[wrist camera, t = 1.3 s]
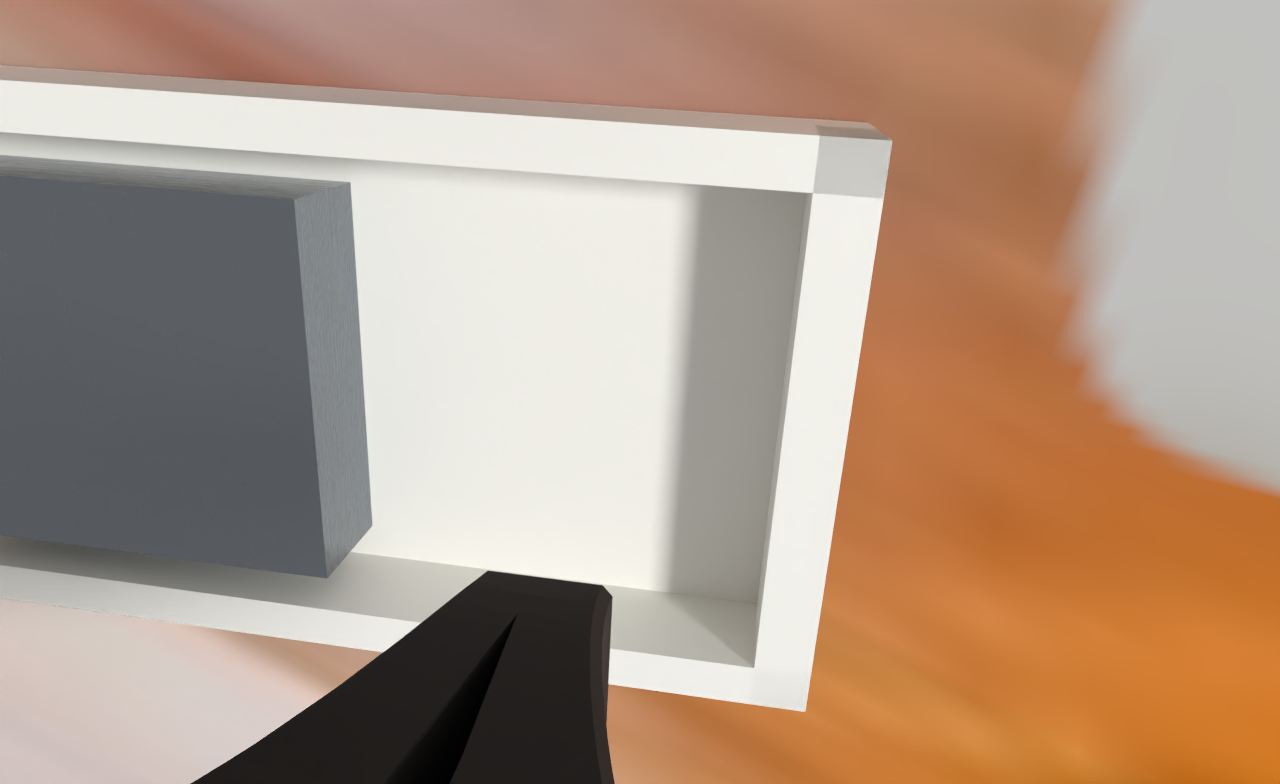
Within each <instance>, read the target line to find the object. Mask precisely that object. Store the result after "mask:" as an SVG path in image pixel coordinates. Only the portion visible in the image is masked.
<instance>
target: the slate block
mask: <svg viewBox="0 0 1280 784" xmlns="http://www.w3.org/2000/svg"><path fill="white" fill-rule="evenodd" d="M371 527H372V510H371V494H370V479H369V463H368V448H367V432H366V416H365V401H364V385H363V370H362V354H361V338H360V323H359V307H358V292H357V276H356V261H355V245H354V229H353V214H352V198H351V183H350V182H340V181H328V180H315V179H302V178H289V177H277V176H264V175H251V174H239V173H226V172H213V171H200V170H188V169H175V168H162V167H150V166H137V165H124V164H111V163H99V162H86V161H73V160H61V159H48V158H35V157H22V156H10V155H0V535H2V536H9V537H17V538H24V539H32V540H39V541H47V542H54V543H62V544H69V545H77V546H85V547H92V548H100V549H107V550H115V551H122V552H130V553H137V554H145V555H153V556H160V557H168V558H175V559H183V560H190V561H198V562H205V563H213V564H221V565H228V566H236V567H243V568H251V569H258V570H266V571H273V572H281V573H288V574H296V575H304V576H311V577H319V578H326V579H327V578H328V577H329V576H330V575H331V574H332V572H333V571H334V570H335V569H336V568H337V567H338V565H339V564H340V563H341V562H342V561H343V560H344V558H345V557H346V556H347V555H348V554H349V553H350V551H351V550H352V549H353V548H354V547H355V546H356V544H357V543H358V542H359V541H360V540H361V539H362V537H363V536H364V535H365V534H366V533H367V532H368V530H369V529H370V528H371Z"/></svg>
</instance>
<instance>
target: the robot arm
mask: <svg viewBox="0 0 1280 784" xmlns="http://www.w3.org/2000/svg"><path fill="white" fill-rule="evenodd" d="M612 600H613V596H612V595H611V594H610V593H609V592H608V591H607V590H606V588H605V587H604V586H603V585H597V584H589V583H581V582H574V581H566V580H558V579H550V578H543V577H535V576H527V575H519V574H512V573H504V572H496V571H487V572H485V573H484V574H483V575H481V576H480V577H479V578H478V579H476V580H475V581H474V582H472V583H471V584H470V585H468V586H467V587H466V588H464V589H463V590H462V591H460V592H459V593H458V594H457V595H455V596H454V597H453V598H452V599H450V600H449V601H448V602H447V603H445V604H444V605H443V606H442V607H440V608H439V609H438V610H437V611H435V612H434V613H433V614H432V615H430V616H429V617H428V618H427V619H425V620H424V621H423V622H422V623H420V624H419V625H418V626H416V627H415V628H414V629H413V630H411V631H410V632H409V633H408V634H406V635H405V636H404V637H403V638H401V639H400V640H399V641H397V642H396V643H395V644H394V645H392V646H391V647H390V648H388V649H387V650H386V651H384V652H383V653H382V654H380V655H379V656H378V657H376V658H375V659H374V660H373V661H371V662H370V663H369V664H367V665H366V666H365V667H363V668H362V669H361V670H359V671H358V672H357V673H355V674H354V675H353V676H351V677H350V678H349V679H347V680H346V681H345V682H343V683H342V684H341V685H339V686H338V687H337V688H335V689H334V690H333V691H331V692H330V693H328V694H327V695H325V696H324V697H322V698H321V699H319V700H318V701H317V702H315V703H314V704H312V705H311V706H309V707H308V708H306V709H305V710H304V711H302V712H301V713H299V714H298V715H296V716H295V717H293V718H292V719H290V720H289V721H288V722H286V723H285V724H283V725H282V726H280V727H279V728H277V729H276V730H275V731H273V732H272V733H270V734H269V735H267V736H266V737H264V738H263V739H261V740H260V741H259V742H257V743H256V744H254V745H252V746H251V747H249V748H248V749H246V750H245V751H243V752H241V753H240V754H238V755H237V756H235V757H234V758H232V759H230V760H229V761H227V762H226V763H224V764H222V765H221V766H219V767H217V768H216V769H214V770H212V771H211V772H209V773H208V774H206V775H204V776H203V777H201V778H199V779H198V780H196V781H194V782H193V783H191V784H614V778H613V773H612V766H611V759H610V753H609V746H608V738H607V728H606V719H607V699H608V679H609V659H610V639H611V619H612Z"/></svg>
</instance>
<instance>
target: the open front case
mask: <svg viewBox="0 0 1280 784" xmlns="http://www.w3.org/2000/svg"><path fill="white" fill-rule="evenodd" d="M891 147H892V140H891V139H889V138H888V137H887V136H885V135H884V134H883V133H881V132H880V131H879V130H877V129H876V128H875V127H874V126H872V125H871V124H870V123H867V122H852V121H837V120H821V119H806V118H791V117H776V116H761V115H746V114H731V113H715V112H700V111H685V110H670V109H655V108H640V107H624V106H609V105H594V104H579V103H564V102H549V101H534V100H518V99H503V98H488V97H473V96H458V95H443V94H428V93H412V92H397V91H382V90H367V89H352V88H337V87H322V86H306V85H291V84H276V83H261V82H246V81H231V80H216V79H200V78H185V77H170V76H155V75H140V74H125V73H110V72H94V71H79V70H64V69H49V68H34V67H19V66H4V65H0V155H10V156H22V157H35V158H48V159H61V160H73V161H86V162H99V163H111V164H124V165H137V166H150V167H162V168H175V169H188V170H200V171H213V172H226V173H239V174H251V175H264V176H277V177H289V178H302V179H315V180H328V181H340V182H350V183H351V198H352V214H353V229H354V245H355V261H356V276H357V292H358V307H359V323H360V338H361V354H362V370H363V385H364V401H365V416H366V432H367V448H368V463H369V479H370V494H371V510H372V527H371V528H370V529H369V530H368V532H367V533H366V534H365V535H364V536H363V537H362V539H361V540H360V541H359V542H358V543H357V544H356V546H355V547H354V548H353V549H352V550H351V551H350V553H349V554H348V555H347V556H346V557H345V558H344V560H343V561H342V562H341V563H340V564H339V565H338V567H337V568H336V569H335V570H334V571H333V572H332V574H331V575H330V576H329V577H328V578H327V579H326V578H319V577H311V576H304V575H296V574H288V573H281V572H273V571H266V570H258V569H251V568H243V567H236V566H228V565H221V564H213V563H205V562H198V561H190V560H183V559H175V558H168V557H160V556H153V555H145V554H137V553H130V552H122V551H115V550H107V549H100V548H92V547H85V546H77V545H69V544H62V543H54V542H47V541H39V540H32V539H24V538H17V537H9V536H2V535H0V598H3V599H10V600H17V601H24V602H31V603H38V604H45V605H53V606H60V607H67V608H74V609H81V610H88V611H95V612H102V613H109V614H116V615H123V616H130V617H137V618H145V619H152V620H159V621H166V622H173V623H180V624H187V625H194V626H201V627H208V628H215V629H222V630H229V631H237V632H244V633H251V634H258V635H265V636H272V637H279V638H286V639H293V640H300V641H307V642H314V643H322V644H329V645H336V646H343V647H350V648H357V649H364V650H371V651H378V652H384V651H386V650H387V649H388V648H390V647H391V646H392V645H394V644H395V643H396V642H397V641H399V640H400V639H401V638H403V637H404V636H405V635H406V634H408V633H409V632H410V631H411V630H413V629H414V628H415V627H416V626H418V625H419V624H420V623H422V622H423V621H424V620H425V619H427V618H428V617H429V616H430V615H432V614H433V613H434V612H435V611H437V610H438V609H439V608H440V607H442V606H443V605H444V604H445V603H447V602H448V601H449V600H450V599H452V598H453V597H454V596H455V595H457V594H458V593H459V592H460V591H462V590H463V589H464V588H466V587H467V586H468V585H470V584H471V583H472V582H474V581H475V580H476V579H478V578H479V577H480V576H481V575H483V574H484V573H485V572H487V571H496V572H504V573H512V574H519V575H527V576H535V577H543V578H550V579H558V580H566V581H574V582H581V583H589V584H597V585H603V586H604V587H605V588H606V590H607V591H608V592H609V593H610V594H611V595H612V596H613V600H612V619H611V639H610V659H609V679H608V684H612V685H619V686H626V687H633V688H640V689H647V690H654V691H661V692H668V693H675V694H682V695H690V696H697V697H704V698H711V699H718V700H725V701H732V702H739V703H746V704H753V705H760V706H767V707H774V708H782V709H789V710H796V711H803V712H805V710H806V703H807V697H808V690H809V684H810V677H811V671H812V664H813V657H814V651H815V644H816V638H817V631H818V625H819V618H820V612H821V605H822V599H823V592H824V585H825V579H826V572H827V566H828V559H829V553H830V546H831V540H832V533H833V527H834V520H835V513H836V507H837V500H838V494H839V487H840V481H841V474H842V468H843V461H844V454H845V448H846V441H847V435H848V428H849V422H850V415H851V409H852V402H853V396H854V389H855V382H856V376H857V369H858V363H859V356H860V350H861V343H862V337H863V330H864V323H865V317H866V310H867V304H868V297H869V291H870V284H871V278H872V271H873V265H874V258H875V251H876V245H877V238H878V232H879V225H880V219H881V212H882V206H883V199H884V192H885V186H886V179H887V173H888V166H889V160H890V153H891Z"/></svg>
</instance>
